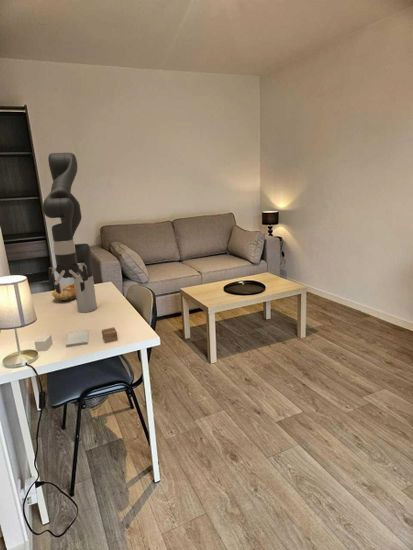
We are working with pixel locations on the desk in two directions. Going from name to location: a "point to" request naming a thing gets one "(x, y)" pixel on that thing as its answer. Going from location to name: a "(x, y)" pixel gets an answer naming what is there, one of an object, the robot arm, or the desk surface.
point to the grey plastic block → (43, 343)
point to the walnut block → (109, 335)
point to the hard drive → (77, 338)
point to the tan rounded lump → (65, 292)
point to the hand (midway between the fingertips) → (71, 292)
